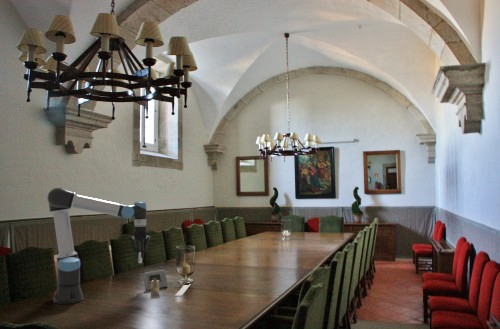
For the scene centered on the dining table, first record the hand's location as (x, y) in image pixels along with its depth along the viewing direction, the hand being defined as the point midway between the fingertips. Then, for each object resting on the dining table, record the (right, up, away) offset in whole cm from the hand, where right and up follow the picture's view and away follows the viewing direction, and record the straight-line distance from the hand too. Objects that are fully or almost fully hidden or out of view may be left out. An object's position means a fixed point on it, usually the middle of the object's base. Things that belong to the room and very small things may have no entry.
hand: (140, 262), depth 261 cm
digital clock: (+10, -16, -2) cm, 19 cm away
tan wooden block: (+14, -14, -19) cm, 27 cm away
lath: (+29, -15, -6) cm, 33 cm away
